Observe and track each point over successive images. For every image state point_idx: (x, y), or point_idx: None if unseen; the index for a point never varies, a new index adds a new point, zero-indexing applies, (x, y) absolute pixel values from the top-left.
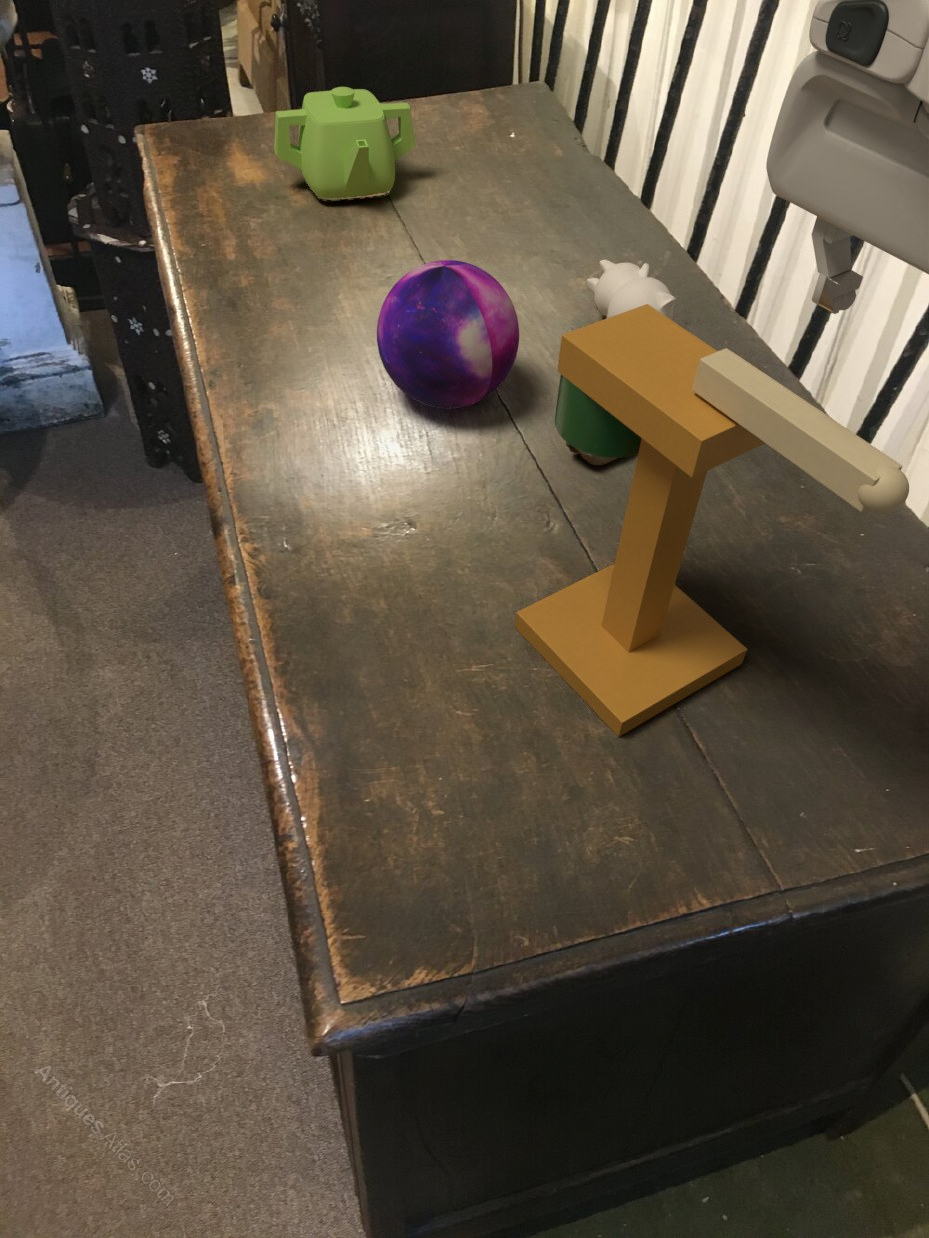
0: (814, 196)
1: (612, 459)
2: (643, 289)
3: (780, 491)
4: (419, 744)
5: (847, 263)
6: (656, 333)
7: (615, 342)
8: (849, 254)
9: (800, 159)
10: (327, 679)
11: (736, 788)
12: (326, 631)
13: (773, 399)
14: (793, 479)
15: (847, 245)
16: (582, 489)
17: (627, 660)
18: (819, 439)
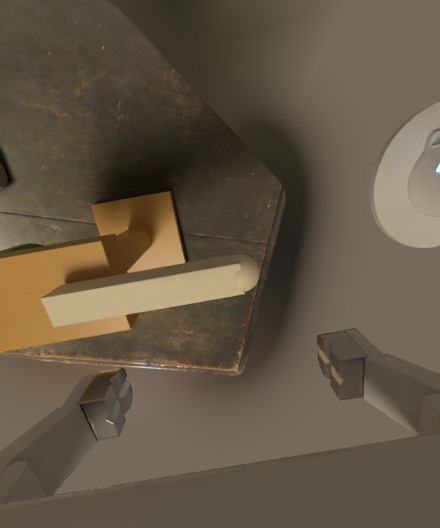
0: None
1: (4, 170)
2: None
3: (51, 73)
4: (163, 328)
5: (72, 421)
6: None
7: None
8: (55, 425)
9: None
10: (124, 346)
11: (225, 233)
12: (99, 340)
13: (126, 304)
14: (40, 53)
15: (41, 446)
16: (27, 198)
17: (156, 247)
18: (186, 302)
